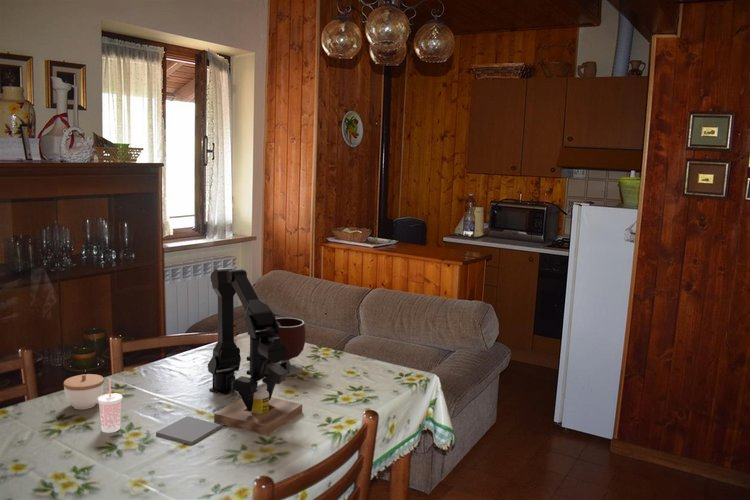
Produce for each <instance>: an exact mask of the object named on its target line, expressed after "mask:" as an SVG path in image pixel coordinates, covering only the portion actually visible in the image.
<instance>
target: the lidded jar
mask: <svg viewBox="0 0 750 500" xmlns="http://www.w3.org/2000/svg"><path fill="white" fill-rule="evenodd" d="M104 386H105V378H104V377H103V376H102V375H100V374H96V373H95V374H92V373H87V374H79V375H74V376H70V377H68V378H66V379H65V380H64V381H63V391H64V397H65V399H66V401H67V403H68V404H69V405H70V406H72V407H74V408H73V409H75V410H88V409H91V408H94V407H95V406H96V405H97V403H98V397H100V396H102V395H104Z"/></svg>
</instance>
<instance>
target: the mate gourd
mask: <svg viewBox="0 0 750 500" xmlns="http://www.w3.org/2000/svg"><path fill="white" fill-rule="evenodd" d="M275 318H276V321H277V323H278V325H279V328H280V329H279V332H280V335H276V336H275V337H279V338H280V342H281V343H282V344H284V345H285V347H286V350H287V352H286V356H285V358H284V359H283V360H282V361H281V362H279V363H280V364H281V363H283V362H285V361H287V362H288V363H289V364H290V374H288V375H287V376H289V375H290V376H291V375H295V374H299V373H301V372H302V371H303V365H301V364H300V363H298V362H293V361H290V360H291V359H294V358H297V357H299V356H300V355H301V353H302V352H303V351H304V348H305V344H306V326H305V320H303V319H299V318H297V317H296V318H294V317H278V318H277V317H275ZM266 330H273V329H272V328H271V329H266ZM266 330H265V331H266Z"/></svg>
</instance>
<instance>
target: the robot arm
mask: <svg viewBox="0 0 750 500" xmlns="http://www.w3.org/2000/svg"><path fill="white" fill-rule="evenodd" d="M247 273H248V272H247V271H246V270H245V269H244V268H237V269H236V267H234V266H233V267H223V268H222V267H221V268H214V269H213V271H212V272H211V273H210V282H211V288H212V289H213V290H214V292H215V294H216V295H217V336H218V337H217V339H218V340H217V342H216V344H215V346H214V347H213V349H212V357H211V358H210V360H209V362H208V363H207V371H208V372H209V373H210V374H211V375H212V387H210V388H209V389H208V390H209V391H210V392H214V393H218V394H223V395H226V394H227V395H228V393H231V392H233V391H234V392H236V393H238V395H239V396H240V399H241V398H242V400H243V402H244V404H245V406H246V408H247V410H248V411H252V407H253V397H254V394H255V393H256V392H257V391H258V390H256V389H257V386H258V382H263V383H266V384H267V390H266V391H268V392H269V400H270V399H271V397H272V395H273V394H274V393H273V392H274V391H275V387H276V385H280V384H281V383H282V382H285V381H286V379H287V377H288V376H289V375H288V374H290V364H289V363H288V362H287V361H285V362H283V363H281V364H280V363H279V362H281V361H282V360H283V359H284V358H285V356H286V352H287V350H286V347H285V345H284V344H282V343H281V342H280V338H279V337H275V336H276V335H280V332H279V329H280V328H279V325H278V323H277V321H276V318H277V317H276V316H275V314H274V312H273V310H272V309H271V308H270V307H269V305H268V304H267V303H264V302H262V301H261V299H260V298H259V296H258V294H257V292H256V291H255V289H254V287H253V285H252V283H251V281H250V280H249V278H248V274H247ZM235 295H237V297H238V299H239V301H240V303H241V306H242V307H243V308H244V312H245V314H244V318H243V319H244V322H245V326H246V328H247V329H248V331H247V335H248V336H249V355H248V356H247V357H246V361H247V362H249V369H248V370H246V375H248V376H250V377H247V376H244V375H242V376H239V377H237V378H236V376H235V372H238V371H240V367H241V361H242V357H241V349H240V347H238V345H237V344H236V342H235V330H234V327H235V323H234V321H235V319H234V317H235V316H234V314H235V310H234V303H235V302H234V299H235V297H234V296H235ZM271 328H272V329H273V330H266V329H271Z"/></svg>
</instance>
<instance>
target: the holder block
mask: <svg viewBox="0 0 750 500" xmlns="http://www.w3.org/2000/svg"><path fill="white" fill-rule="evenodd" d="M302 413H303V404H302V403H299V402H295V401H291V400H289V401H288V400H285V399H280V398H277V397H272V396H271V399H270V400H269V411H268V412H267V413H265V414H263V415H260V414H256V413H252V412H250V411H248V410H247V408H246V406H245V404H244V402H243V400H242V398H241V397H240V399H238V400H236V401H234V402H233V403H231V404H229V405H227V406H225V407H223V408H222V409H220V410H218V411H216V412H214V413H213V423H216V424H220V425H224V426H229V427H233V428H237V429H241V430H243V431H249V432H252V433H256V434H259V435H264V436H269V435H271V434H272V433H274V432H275V431H277V430H278V429H280V428H281V427H283V426H284V425H286V424H287V423H289V422H290V421H291V420H293V419H294V418H296V417H297V416H299V415H301V414H302Z"/></svg>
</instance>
